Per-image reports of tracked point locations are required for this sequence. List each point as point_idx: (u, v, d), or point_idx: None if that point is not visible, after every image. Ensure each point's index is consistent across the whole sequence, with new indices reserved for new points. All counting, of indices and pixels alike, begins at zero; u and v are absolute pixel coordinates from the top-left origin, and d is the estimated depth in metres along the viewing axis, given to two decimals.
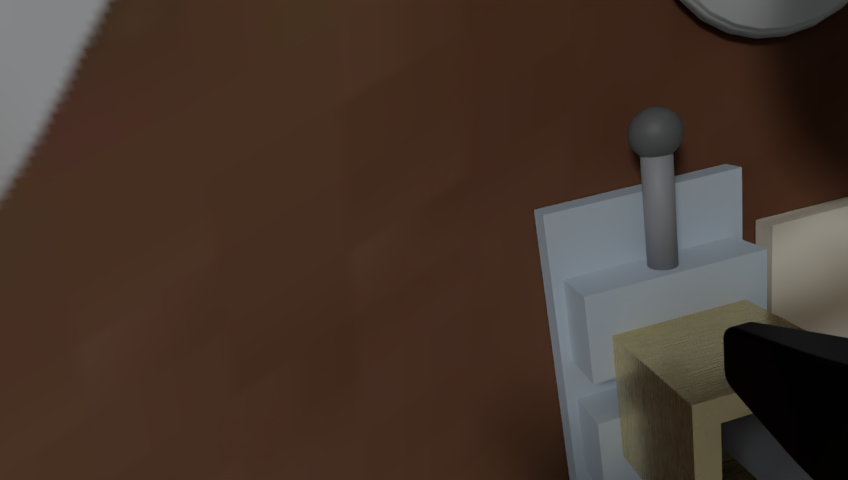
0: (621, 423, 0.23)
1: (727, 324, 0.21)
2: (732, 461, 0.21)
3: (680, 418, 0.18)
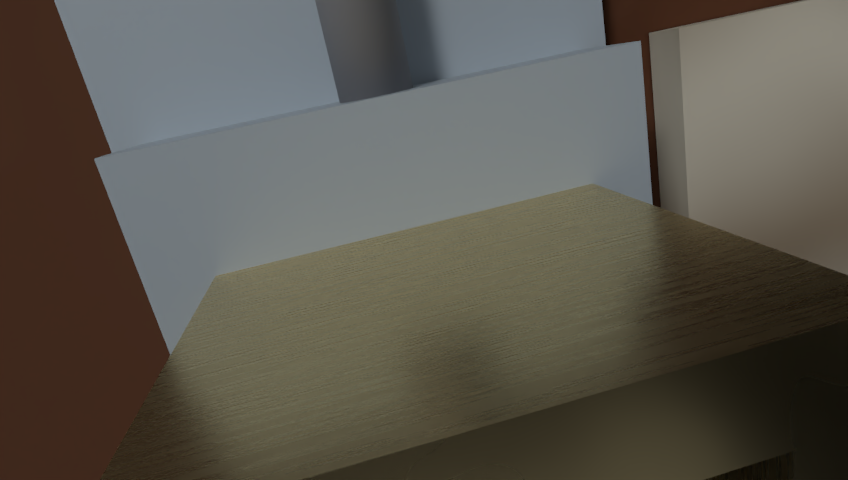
0: None
1: (507, 233, 0.07)
2: None
3: None
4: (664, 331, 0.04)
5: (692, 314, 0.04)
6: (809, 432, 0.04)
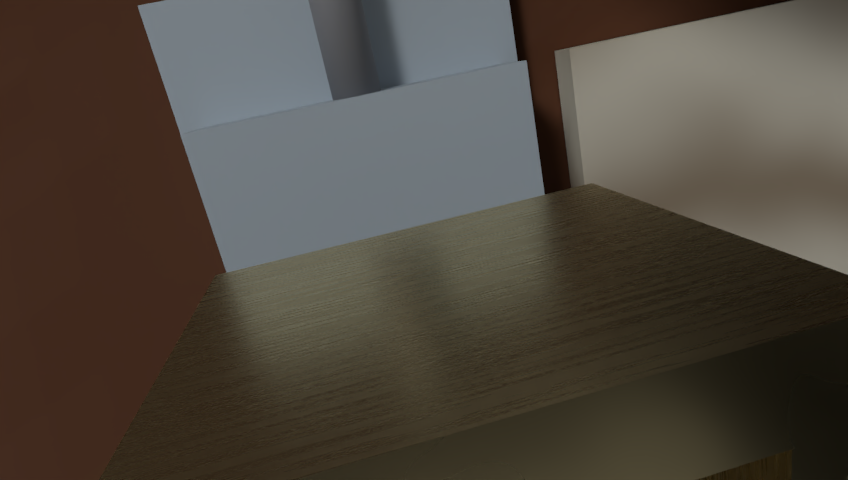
0: None
1: (507, 233, 0.07)
2: None
3: None
4: (662, 330, 0.04)
5: (690, 313, 0.04)
6: (807, 430, 0.04)
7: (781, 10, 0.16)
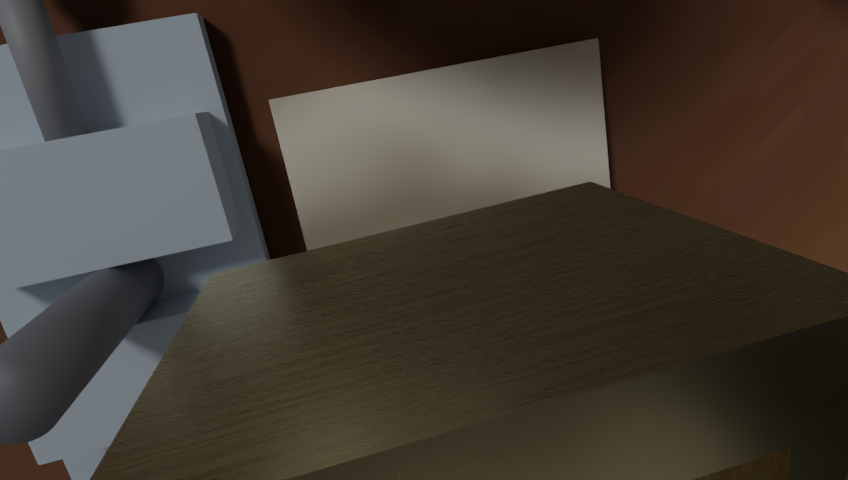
0: None
1: (504, 231, 0.07)
2: None
3: None
4: (659, 328, 0.04)
5: (688, 311, 0.04)
6: (805, 430, 0.04)
7: (455, 70, 0.19)
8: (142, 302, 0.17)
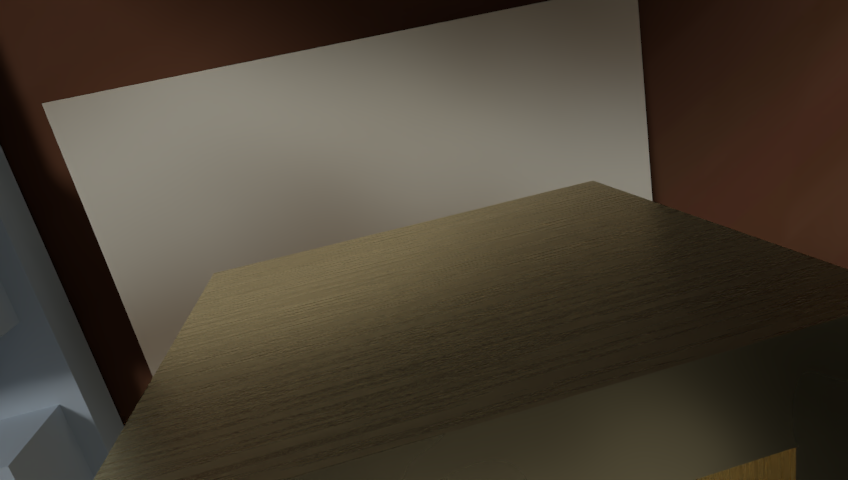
0: None
1: (507, 230, 0.07)
2: None
3: None
4: (665, 326, 0.04)
5: (694, 309, 0.04)
6: (812, 428, 0.04)
7: (385, 44, 0.11)
8: None
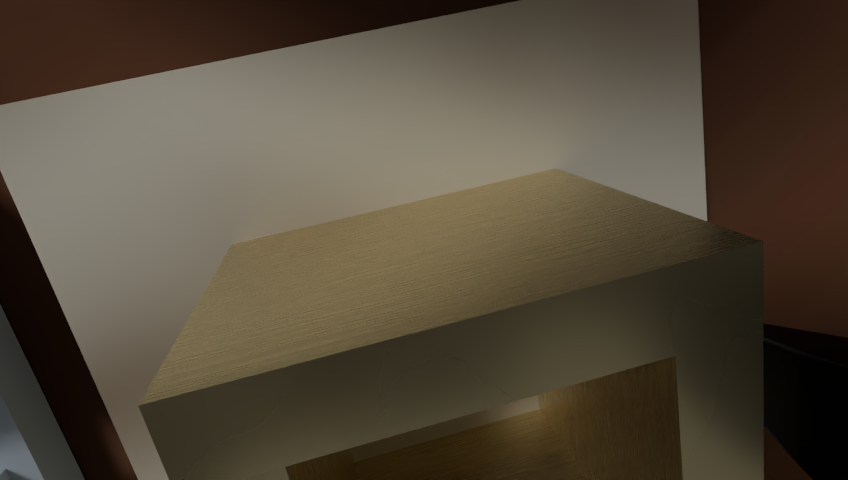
0: None
1: (478, 207, 0.09)
2: None
3: None
4: (580, 267, 0.06)
5: (603, 255, 0.06)
6: (686, 341, 0.05)
7: (395, 38, 0.09)
8: None
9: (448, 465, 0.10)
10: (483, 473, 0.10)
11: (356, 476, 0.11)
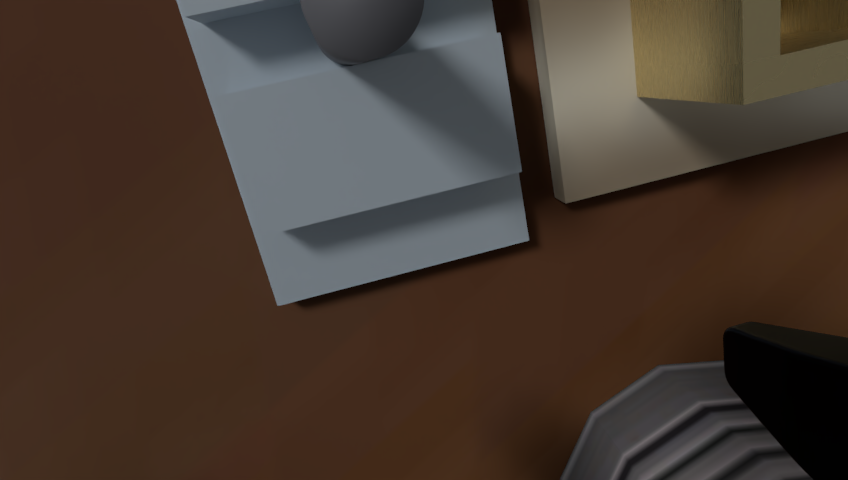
0: (635, 40, 0.18)
1: None
2: (786, 42, 0.16)
3: None
4: None
5: None
6: None
7: None
8: None
9: None
10: None
11: None
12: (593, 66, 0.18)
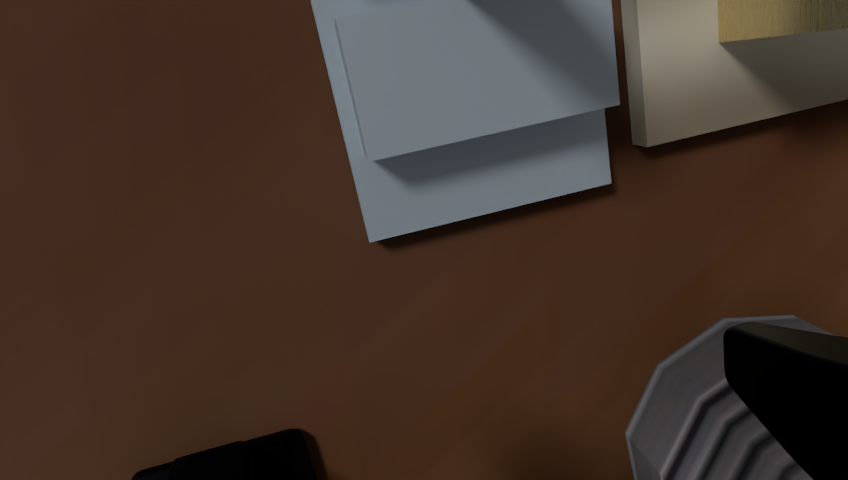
0: None
1: None
2: None
3: None
4: None
5: None
6: None
7: None
8: None
9: None
10: None
11: None
12: (679, 10, 0.18)
